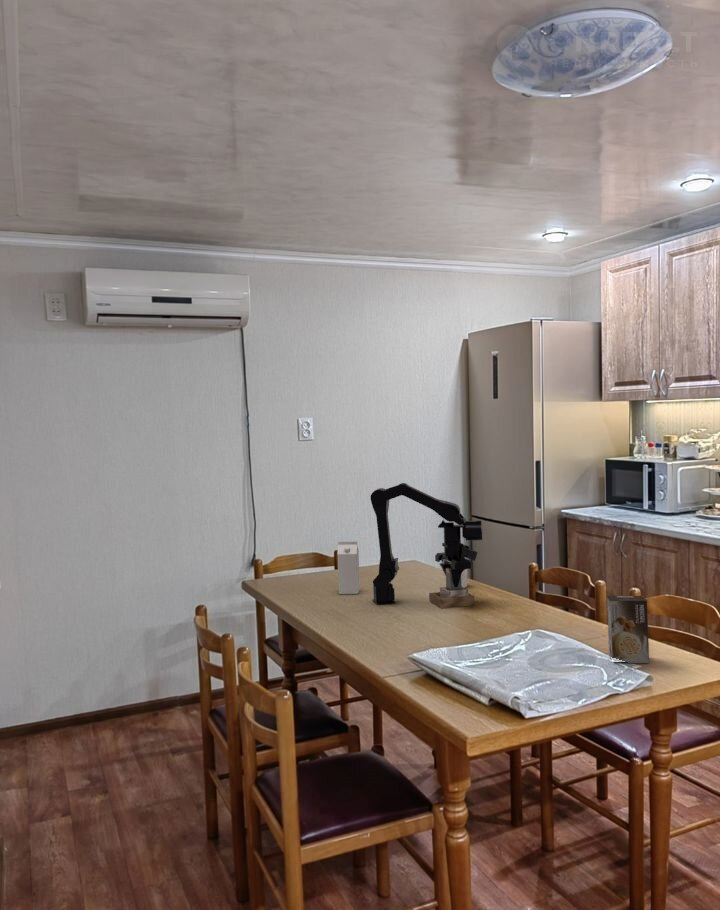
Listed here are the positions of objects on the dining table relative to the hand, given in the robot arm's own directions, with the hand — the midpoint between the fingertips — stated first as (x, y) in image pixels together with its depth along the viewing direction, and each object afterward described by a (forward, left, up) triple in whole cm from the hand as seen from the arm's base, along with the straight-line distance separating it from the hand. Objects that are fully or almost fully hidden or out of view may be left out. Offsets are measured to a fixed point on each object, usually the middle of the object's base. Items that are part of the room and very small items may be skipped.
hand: (453, 585), depth 262 cm
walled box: (-1, 0, -6) cm, 6 cm away
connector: (0, 0, -2) cm, 2 cm away
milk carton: (-29, +31, -6) cm, 43 cm away
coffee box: (+17, -74, -6) cm, 76 cm away
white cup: (+11, +23, -6) cm, 26 cm away
